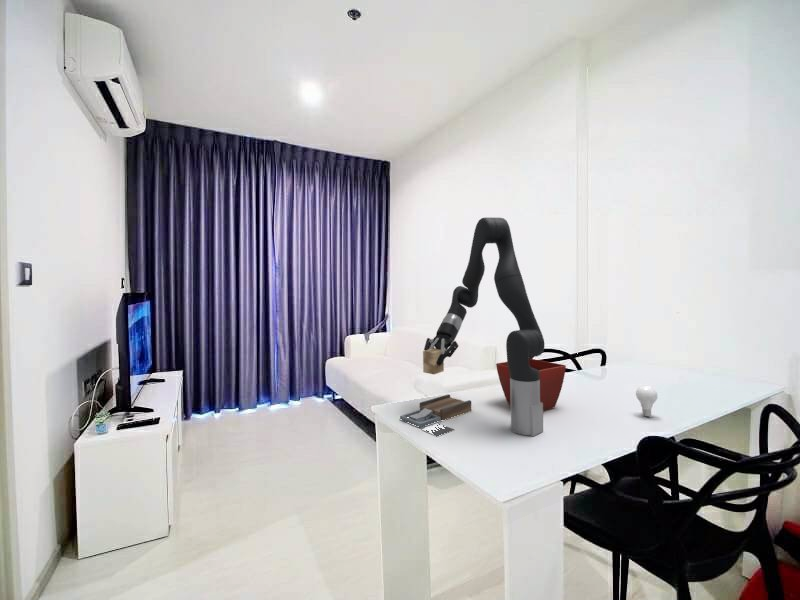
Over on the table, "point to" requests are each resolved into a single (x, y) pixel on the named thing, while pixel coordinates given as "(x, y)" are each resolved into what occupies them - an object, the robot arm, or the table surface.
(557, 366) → the plant pot
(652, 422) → the table surface
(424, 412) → the chip
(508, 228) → the robot arm
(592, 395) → the table surface
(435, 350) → the tall wooden block
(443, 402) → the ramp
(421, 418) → the chip
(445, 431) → the mat
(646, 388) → the lightbulb
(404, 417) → the tray
